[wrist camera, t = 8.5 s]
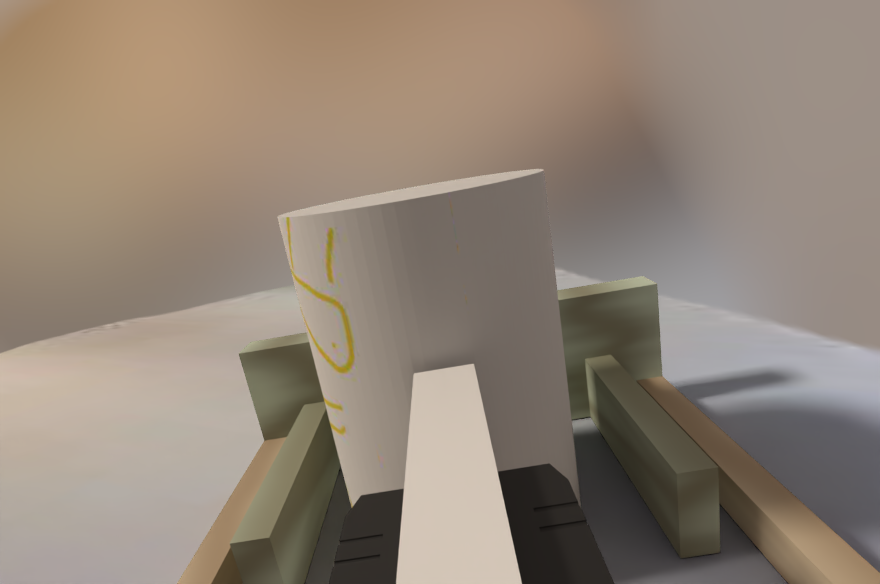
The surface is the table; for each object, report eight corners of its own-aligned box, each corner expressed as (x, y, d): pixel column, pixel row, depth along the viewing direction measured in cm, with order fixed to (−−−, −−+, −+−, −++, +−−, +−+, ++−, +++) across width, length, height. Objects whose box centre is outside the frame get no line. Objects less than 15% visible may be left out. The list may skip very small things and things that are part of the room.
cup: (381, 461, 22) (321, 202, 19) (557, 439, 21) (524, 167, 18) (338, 625, 14) (225, 231, 11) (613, 597, 14) (572, 171, 11)
